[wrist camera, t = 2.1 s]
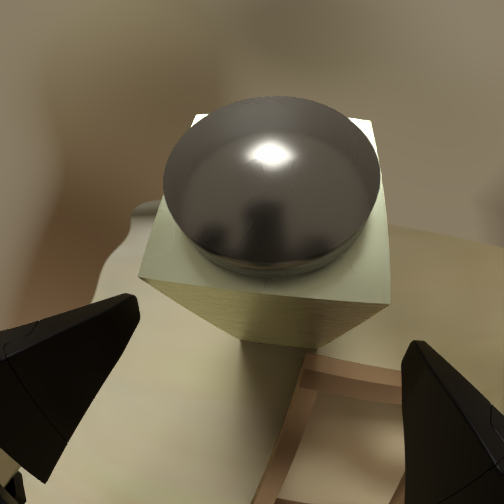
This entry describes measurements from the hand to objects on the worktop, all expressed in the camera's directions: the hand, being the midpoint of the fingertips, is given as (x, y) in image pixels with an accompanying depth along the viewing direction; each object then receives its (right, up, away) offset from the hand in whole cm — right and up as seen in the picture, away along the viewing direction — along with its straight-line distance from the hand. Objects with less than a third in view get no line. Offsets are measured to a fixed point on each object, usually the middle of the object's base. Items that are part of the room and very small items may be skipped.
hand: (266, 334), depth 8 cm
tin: (+2, -1, +10) cm, 10 cm away
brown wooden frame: (+6, -10, +5) cm, 13 cm away
